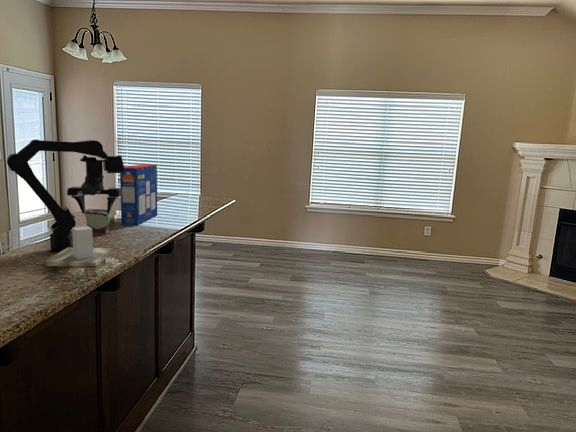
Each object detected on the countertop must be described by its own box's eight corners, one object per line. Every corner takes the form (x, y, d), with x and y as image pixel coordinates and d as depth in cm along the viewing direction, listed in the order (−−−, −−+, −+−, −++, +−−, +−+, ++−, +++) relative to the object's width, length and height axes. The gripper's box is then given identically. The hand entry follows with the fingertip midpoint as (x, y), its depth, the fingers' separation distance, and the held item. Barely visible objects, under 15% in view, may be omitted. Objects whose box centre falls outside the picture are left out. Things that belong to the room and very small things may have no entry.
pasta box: (143, 214, 232) (142, 164, 227) (157, 215, 232) (156, 164, 227) (121, 224, 204) (119, 167, 199) (137, 225, 204) (136, 168, 199)
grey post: (73, 255, 145) (72, 227, 144) (88, 253, 149) (87, 226, 147) (77, 259, 142) (76, 230, 140) (93, 256, 145) (92, 228, 143)
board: (45, 265, 139) (45, 261, 138) (67, 251, 156) (67, 246, 156) (95, 266, 140) (95, 261, 140) (112, 252, 158) (112, 247, 158)
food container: (117, 232, 189) (117, 210, 187) (108, 235, 183) (107, 212, 181) (94, 229, 192) (94, 208, 190) (85, 232, 186) (84, 210, 184)
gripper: (59, 174, 151) (62, 217, 154) (113, 176, 153) (114, 218, 156) (72, 172, 162) (74, 211, 164) (122, 173, 164) (123, 212, 167)
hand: (96, 213), depth 162 cm, fingers open, 9 cm apart
